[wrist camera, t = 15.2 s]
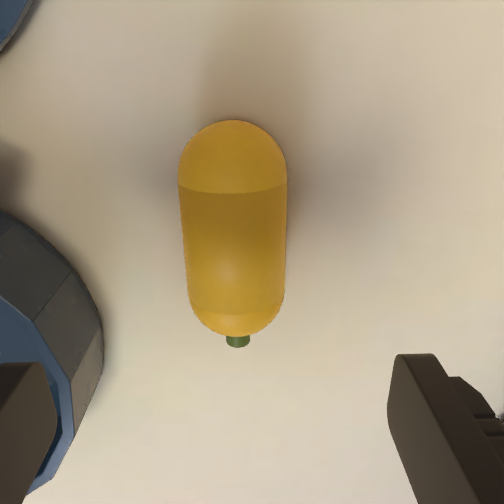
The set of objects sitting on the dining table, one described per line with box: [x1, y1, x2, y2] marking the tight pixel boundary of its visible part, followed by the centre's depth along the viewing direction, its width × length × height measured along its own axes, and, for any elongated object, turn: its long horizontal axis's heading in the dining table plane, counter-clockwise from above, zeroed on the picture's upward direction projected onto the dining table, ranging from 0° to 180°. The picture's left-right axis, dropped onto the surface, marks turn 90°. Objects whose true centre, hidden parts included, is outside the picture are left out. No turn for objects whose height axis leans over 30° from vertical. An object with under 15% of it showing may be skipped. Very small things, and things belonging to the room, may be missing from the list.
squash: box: [178, 120, 287, 348], centre depth 19 cm, size 11×5×5 cm, turn 1°
